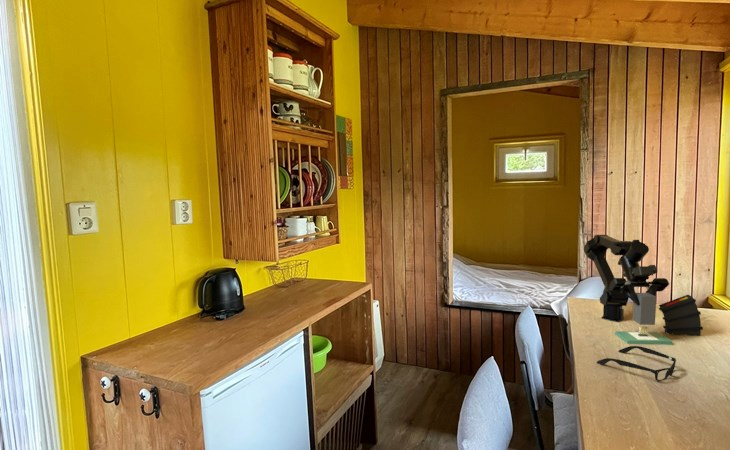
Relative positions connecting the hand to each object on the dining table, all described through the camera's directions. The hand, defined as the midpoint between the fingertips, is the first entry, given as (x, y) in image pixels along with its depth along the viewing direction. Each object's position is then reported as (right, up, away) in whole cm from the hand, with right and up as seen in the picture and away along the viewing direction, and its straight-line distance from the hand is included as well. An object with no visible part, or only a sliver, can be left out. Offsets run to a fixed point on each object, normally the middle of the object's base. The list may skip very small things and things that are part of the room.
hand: (646, 305), depth 145 cm
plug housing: (0, -7, +2) cm, 7 cm away
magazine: (+17, -13, +7) cm, 23 cm away
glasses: (-16, -17, -18) cm, 29 cm away
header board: (+1, -13, +3) cm, 14 cm away
